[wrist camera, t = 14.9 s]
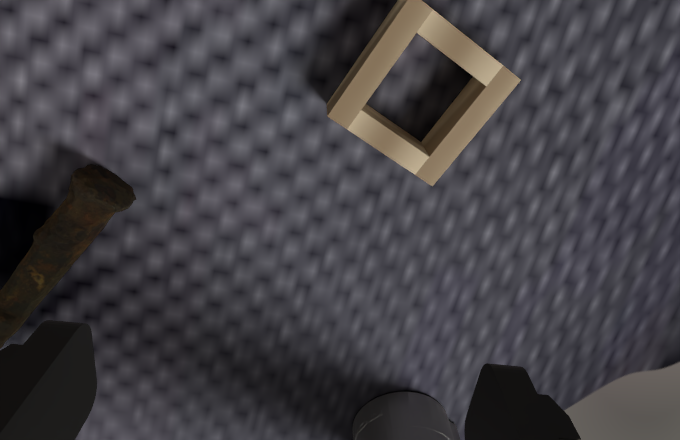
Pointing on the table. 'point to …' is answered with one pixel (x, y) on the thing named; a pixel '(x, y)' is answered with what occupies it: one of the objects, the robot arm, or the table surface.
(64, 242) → the hand tool
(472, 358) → the table surface
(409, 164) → the holder
